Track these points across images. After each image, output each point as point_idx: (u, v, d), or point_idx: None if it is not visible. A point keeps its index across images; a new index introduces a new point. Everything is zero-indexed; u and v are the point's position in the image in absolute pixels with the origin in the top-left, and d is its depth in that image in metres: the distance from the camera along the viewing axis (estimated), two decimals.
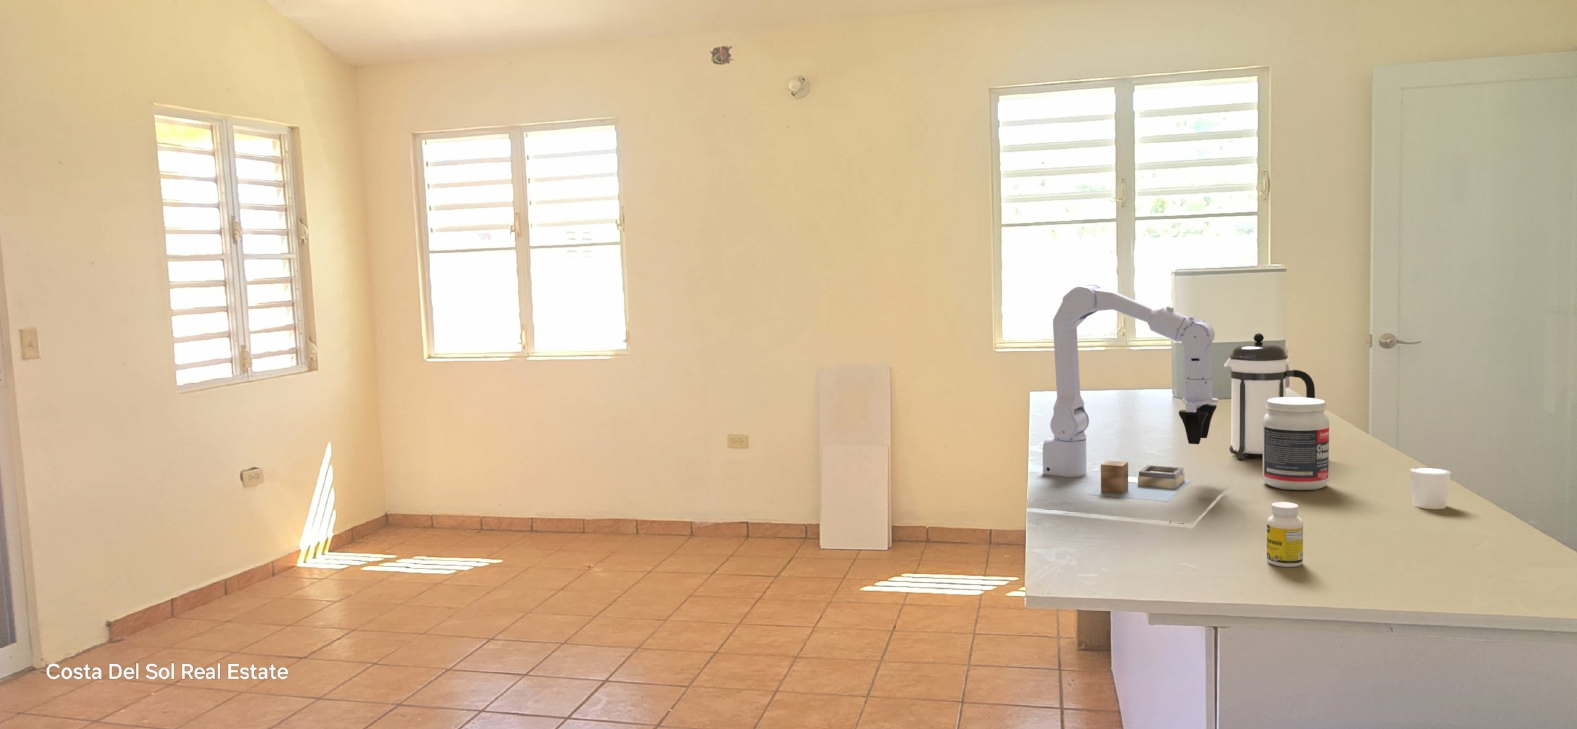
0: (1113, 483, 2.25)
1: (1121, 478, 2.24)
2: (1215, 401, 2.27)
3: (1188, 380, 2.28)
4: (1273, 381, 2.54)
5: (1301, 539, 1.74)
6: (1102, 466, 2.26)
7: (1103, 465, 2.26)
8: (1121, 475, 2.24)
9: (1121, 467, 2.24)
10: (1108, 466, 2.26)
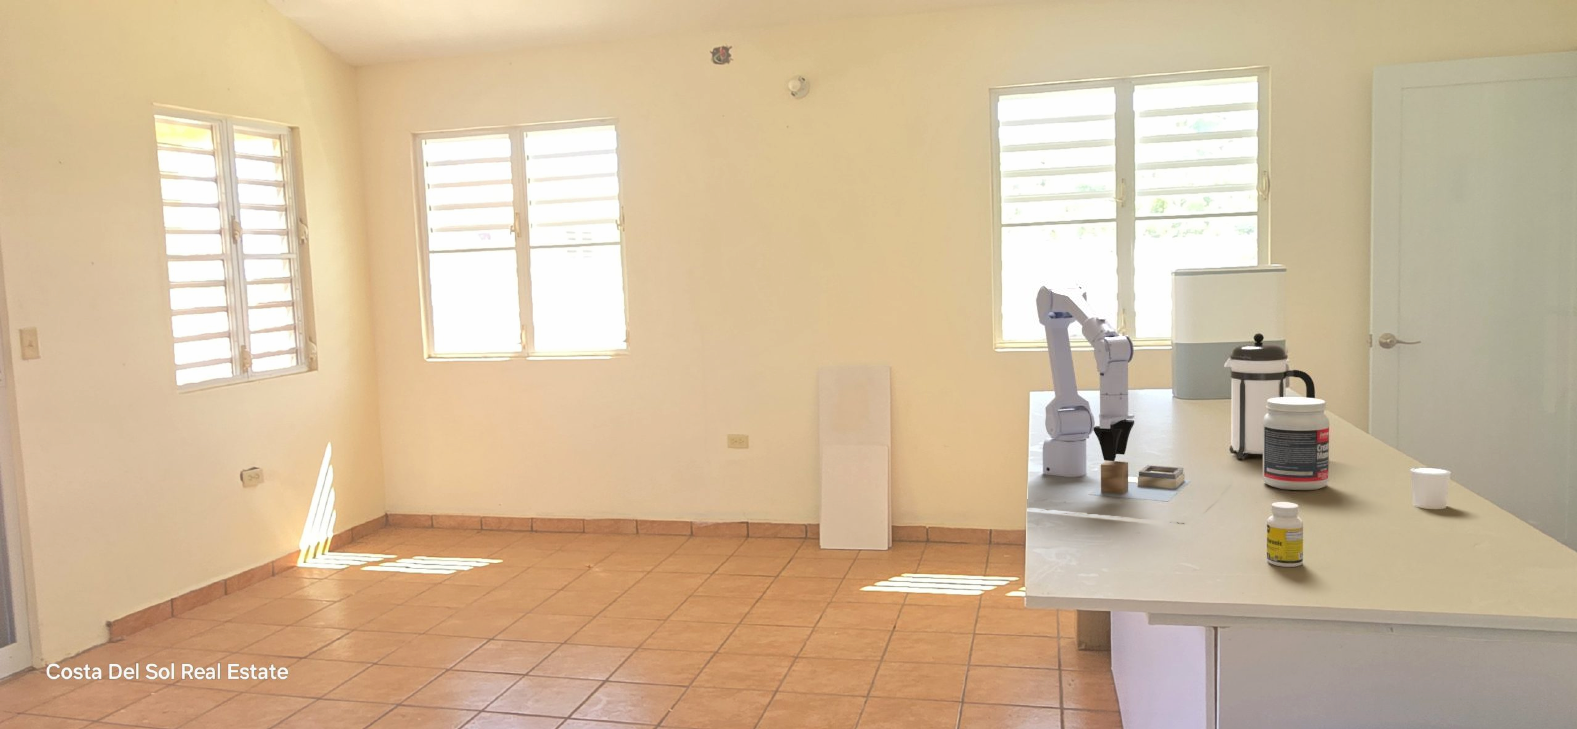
0: (1113, 483, 2.25)
1: (1121, 478, 2.24)
2: (1130, 417, 2.23)
3: (1103, 396, 2.24)
4: (1273, 381, 2.54)
5: (1301, 539, 1.74)
6: (1102, 466, 2.26)
7: (1103, 465, 2.26)
8: (1121, 475, 2.24)
9: (1121, 467, 2.24)
10: (1108, 466, 2.26)
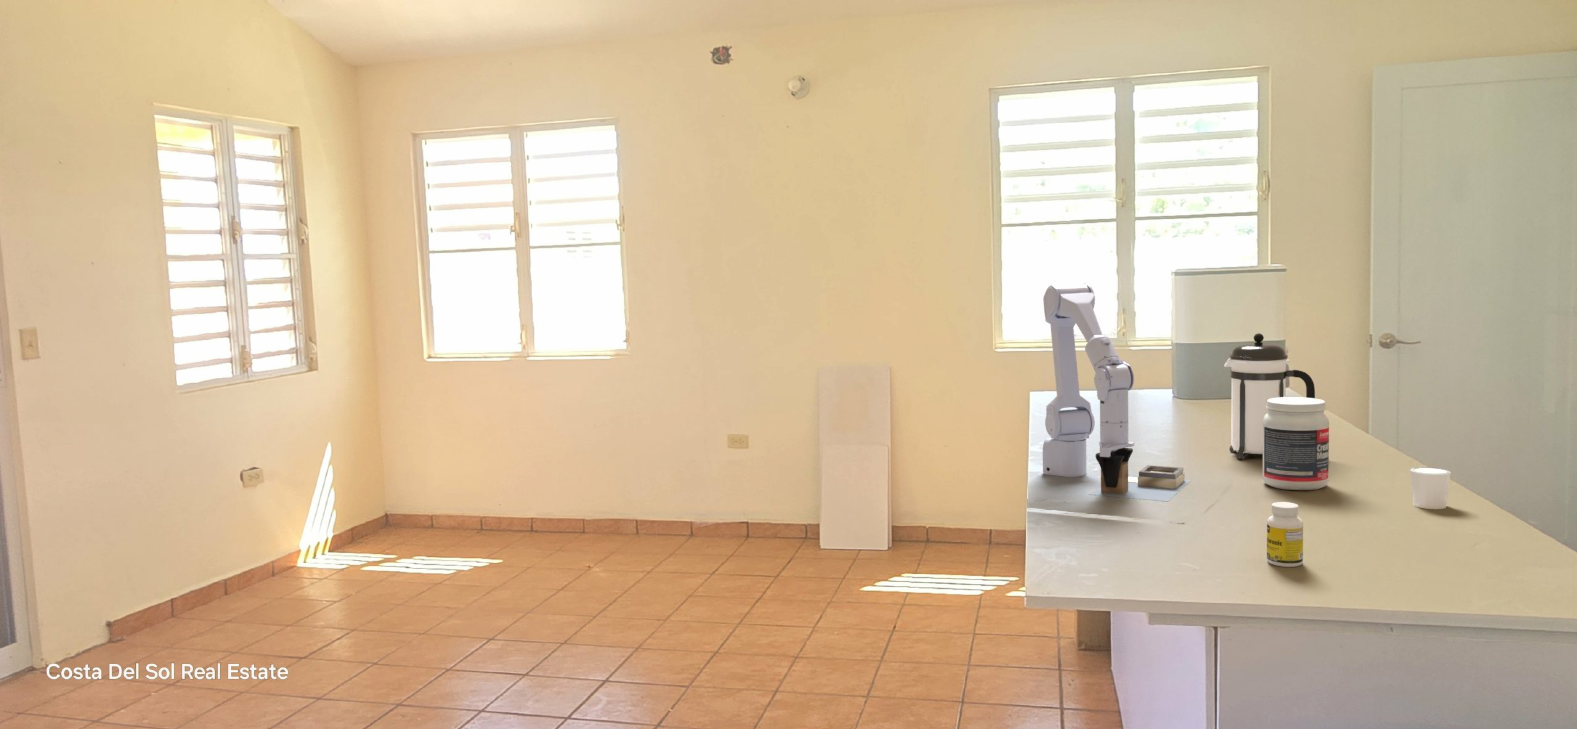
0: None
1: (1121, 478, 2.24)
2: (1131, 445, 2.24)
3: (1104, 423, 2.25)
4: (1273, 381, 2.54)
5: (1301, 539, 1.74)
6: None
7: None
8: (1121, 475, 2.24)
9: (1121, 467, 2.24)
10: None
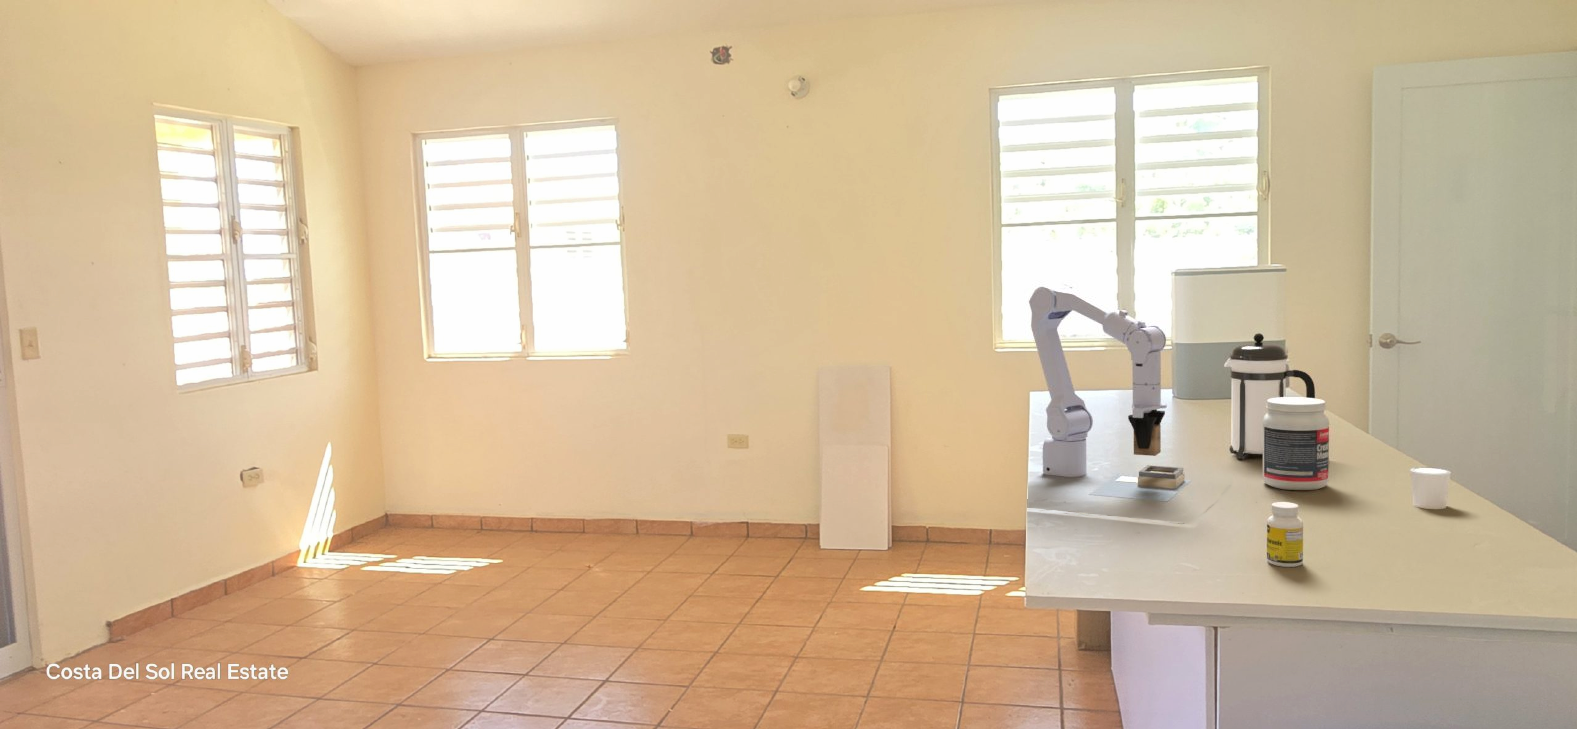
0: None
1: (1154, 440, 2.27)
2: (1163, 407, 2.27)
3: (1136, 386, 2.28)
4: (1273, 381, 2.54)
5: (1301, 539, 1.74)
6: None
7: None
8: (1154, 437, 2.27)
9: (1154, 429, 2.27)
10: None
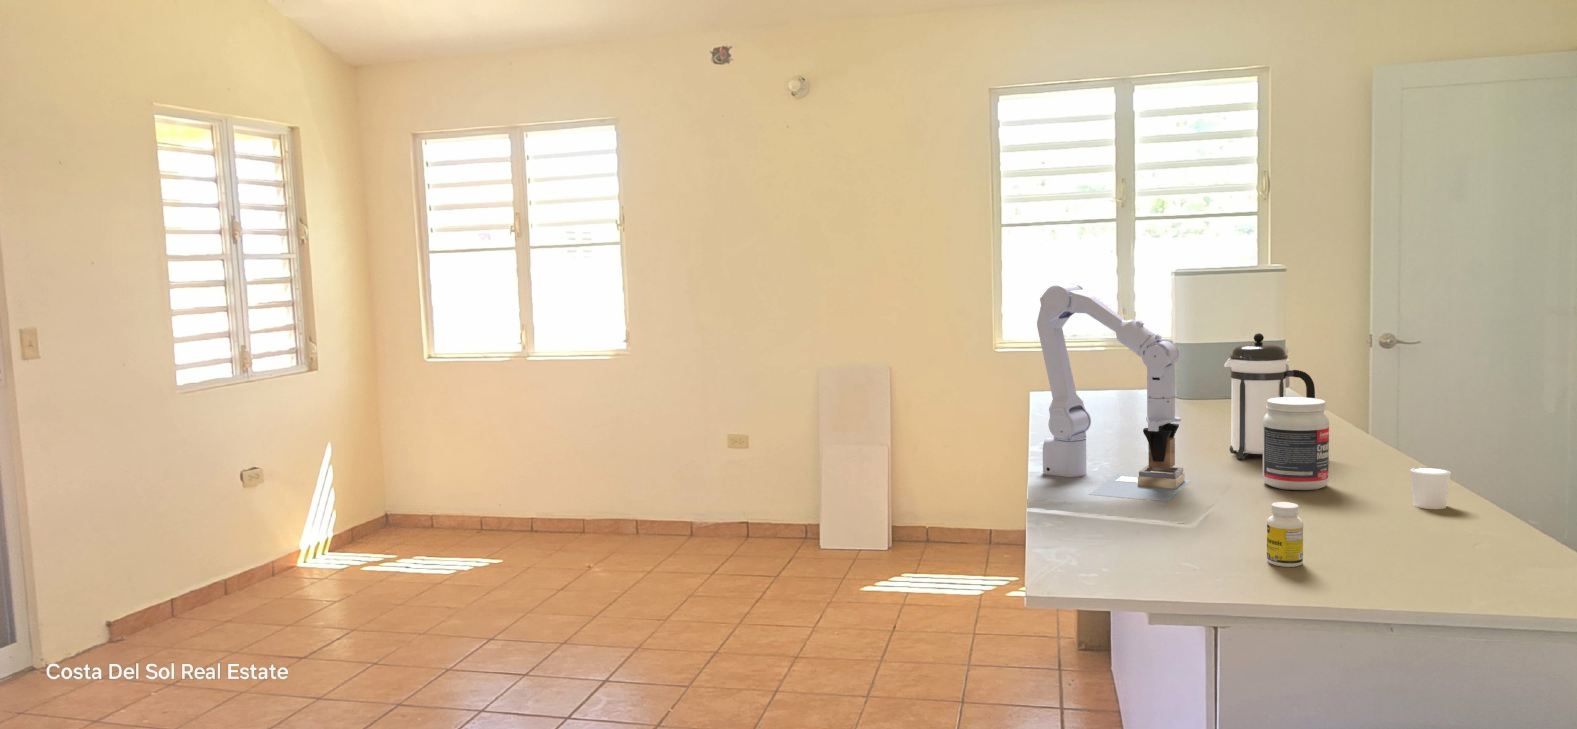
0: None
1: (1169, 453, 2.29)
2: (1178, 420, 2.29)
3: (1151, 399, 2.30)
4: (1273, 381, 2.54)
5: (1301, 539, 1.74)
6: None
7: None
8: (1169, 450, 2.29)
9: (1169, 442, 2.29)
10: None
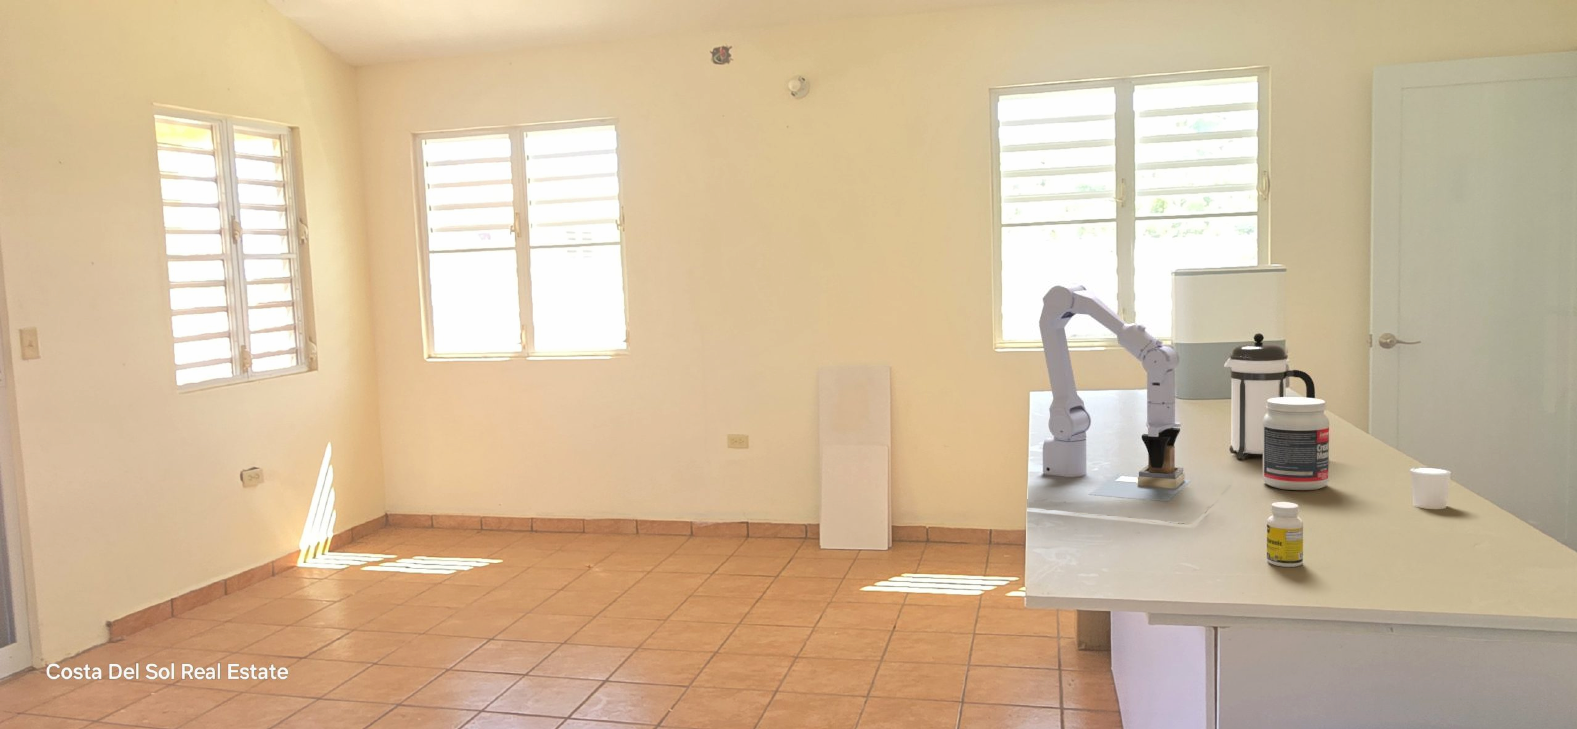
0: None
1: (1169, 461, 2.30)
2: (1178, 425, 2.29)
3: (1151, 404, 2.30)
4: (1273, 381, 2.54)
5: (1301, 539, 1.74)
6: None
7: None
8: (1169, 458, 2.29)
9: (1169, 450, 2.29)
10: None
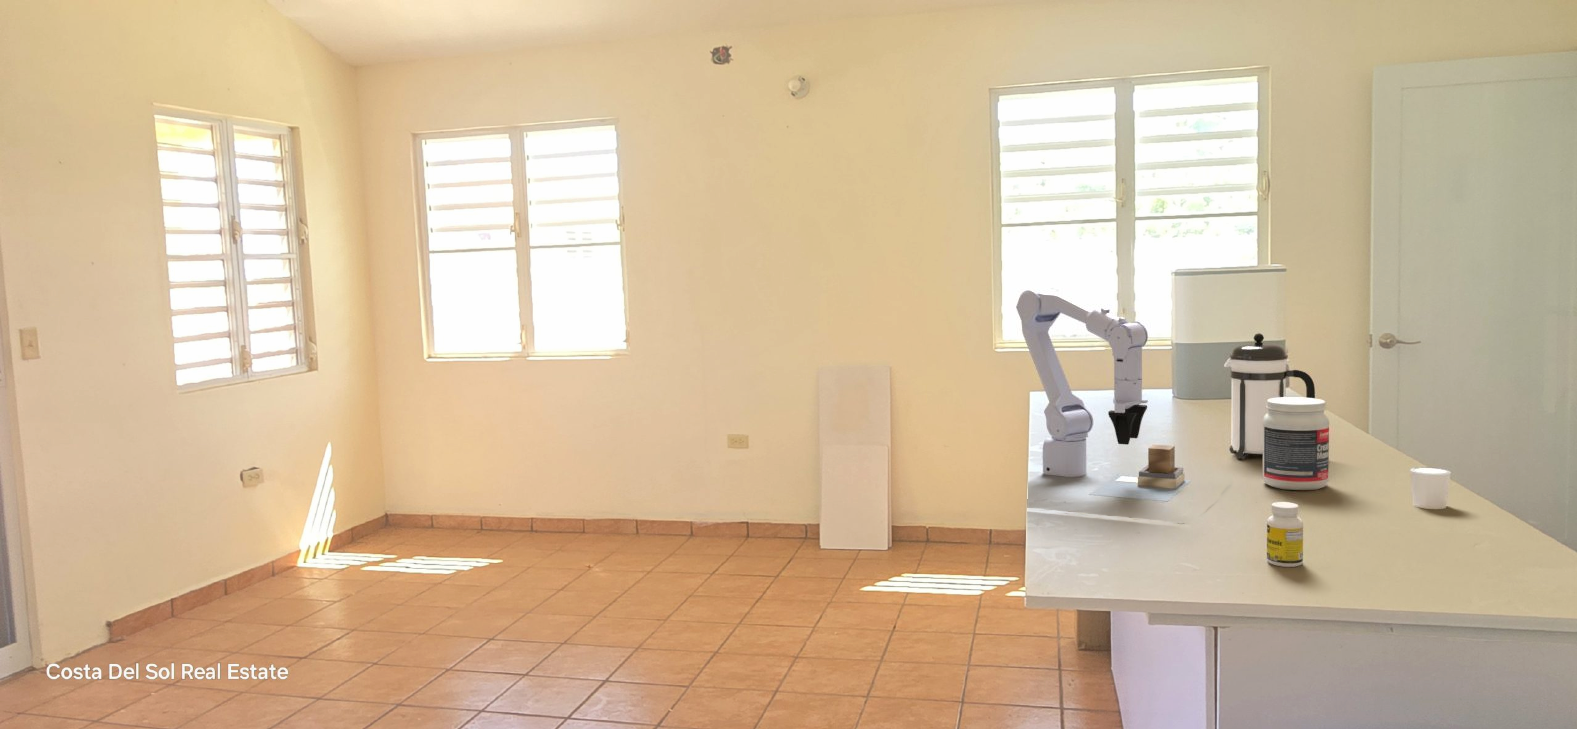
0: (1161, 467, 2.31)
1: (1169, 461, 2.30)
2: (1144, 402, 2.29)
3: (1118, 381, 2.30)
4: (1273, 381, 2.54)
5: (1301, 539, 1.74)
6: (1150, 449, 2.31)
7: (1151, 449, 2.31)
8: (1169, 458, 2.29)
9: (1169, 450, 2.29)
10: (1156, 450, 2.31)
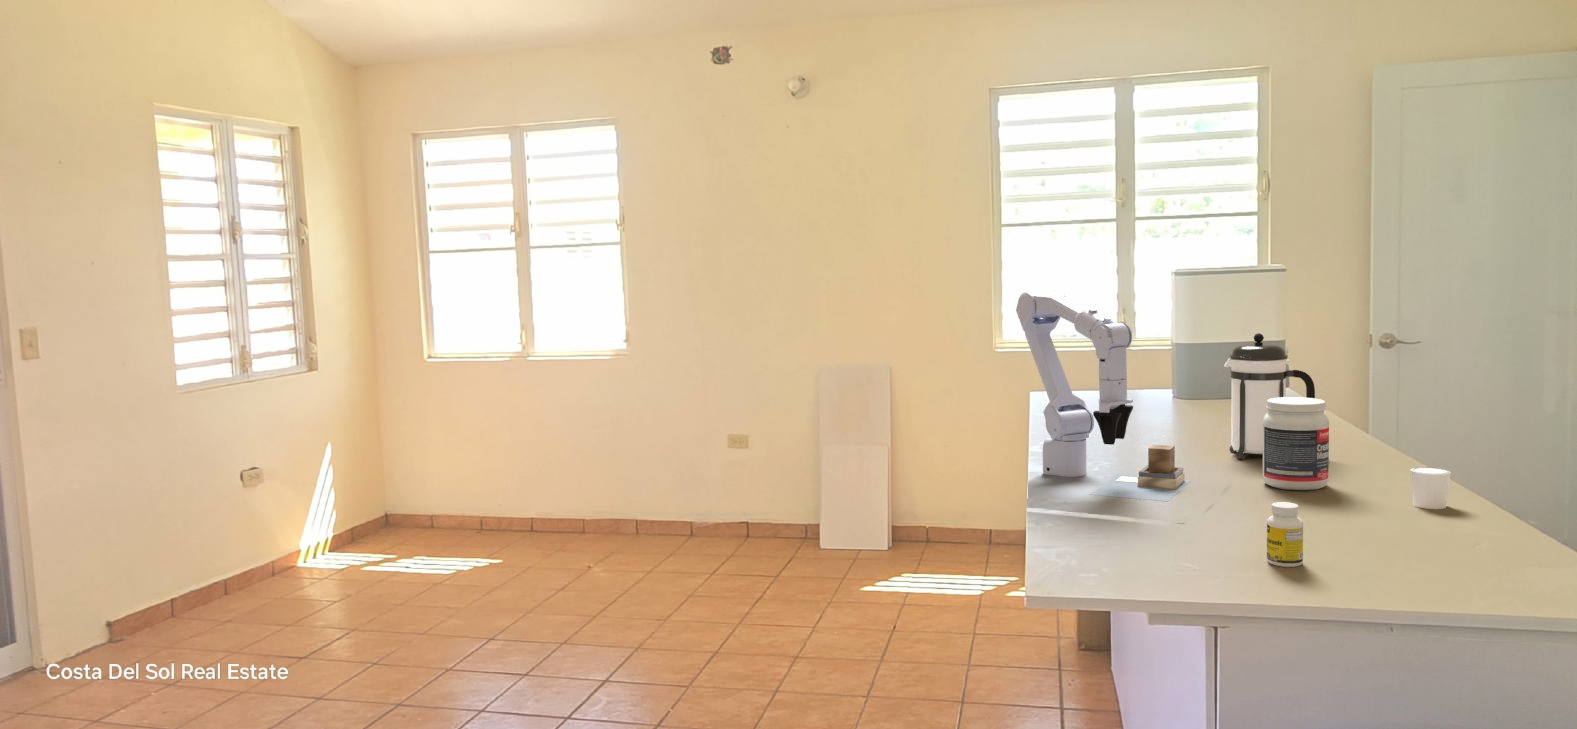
0: (1161, 467, 2.31)
1: (1169, 461, 2.30)
2: (1129, 401, 2.29)
3: (1103, 381, 2.30)
4: (1273, 381, 2.54)
5: (1301, 539, 1.74)
6: (1150, 449, 2.31)
7: (1151, 449, 2.31)
8: (1169, 458, 2.29)
9: (1169, 450, 2.29)
10: (1156, 450, 2.31)
